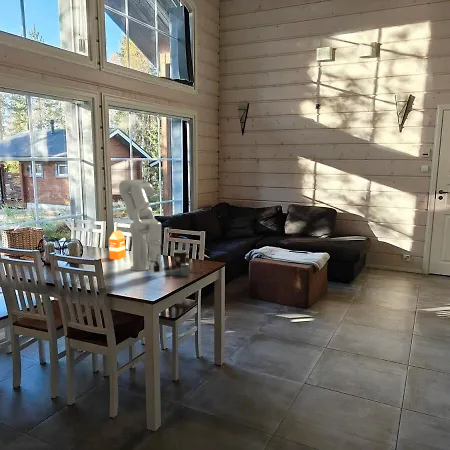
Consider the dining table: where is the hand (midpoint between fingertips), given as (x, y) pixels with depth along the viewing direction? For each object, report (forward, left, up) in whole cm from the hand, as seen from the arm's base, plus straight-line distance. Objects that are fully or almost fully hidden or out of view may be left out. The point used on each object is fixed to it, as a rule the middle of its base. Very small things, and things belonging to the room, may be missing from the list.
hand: (154, 269), depth 251 cm
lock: (0, 0, -1) cm, 1 cm away
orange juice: (-50, -31, -4) cm, 59 cm away
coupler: (-2, +15, -4) cm, 16 cm away
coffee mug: (-23, +16, -4) cm, 28 cm away
